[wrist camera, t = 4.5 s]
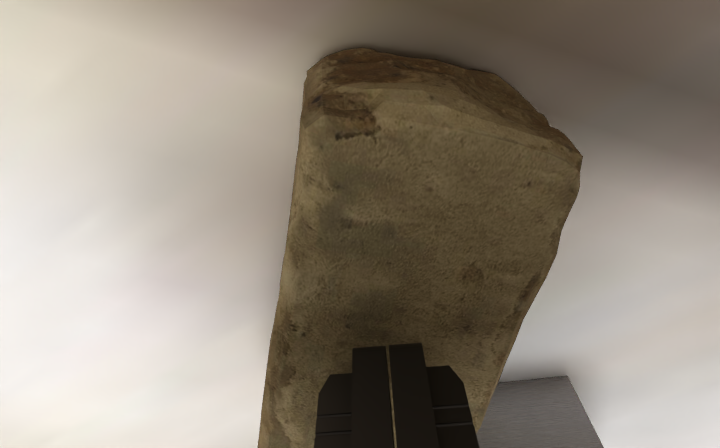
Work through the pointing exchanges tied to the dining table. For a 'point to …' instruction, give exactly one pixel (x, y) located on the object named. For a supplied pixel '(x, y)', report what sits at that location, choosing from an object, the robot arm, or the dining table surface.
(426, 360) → the stone block
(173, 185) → the dining table surface
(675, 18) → the dining table surface
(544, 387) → the charcoal block
